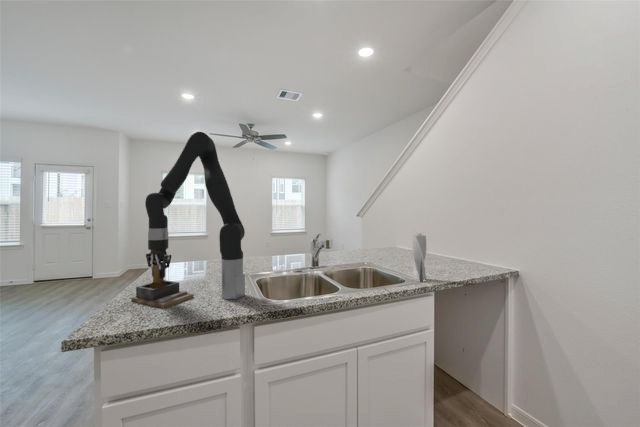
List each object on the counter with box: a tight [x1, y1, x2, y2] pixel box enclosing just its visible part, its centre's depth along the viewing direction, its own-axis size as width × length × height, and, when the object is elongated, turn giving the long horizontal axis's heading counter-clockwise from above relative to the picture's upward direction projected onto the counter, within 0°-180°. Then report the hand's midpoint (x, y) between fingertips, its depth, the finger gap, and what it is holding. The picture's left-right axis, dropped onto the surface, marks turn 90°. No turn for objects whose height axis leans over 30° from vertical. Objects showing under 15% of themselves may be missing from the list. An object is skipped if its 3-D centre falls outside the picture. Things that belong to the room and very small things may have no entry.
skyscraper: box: [411, 230, 427, 283], centre depth 143 cm, size 8×8×28 cm
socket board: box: [130, 279, 194, 309], centre depth 110 cm, size 20×14×6 cm
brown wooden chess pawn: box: [150, 250, 167, 289], centre depth 111 cm, size 7×6×18 cm
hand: (158, 277), depth 111 cm, fingers closed on brown wooden chess pawn, 4 cm apart
